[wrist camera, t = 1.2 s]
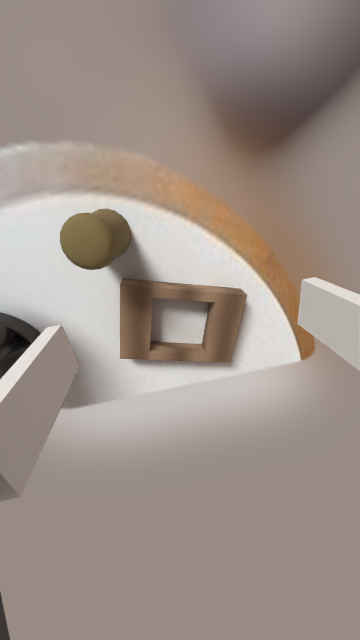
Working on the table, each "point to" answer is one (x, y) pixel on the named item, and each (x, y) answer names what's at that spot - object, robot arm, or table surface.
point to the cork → (95, 238)
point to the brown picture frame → (141, 293)
